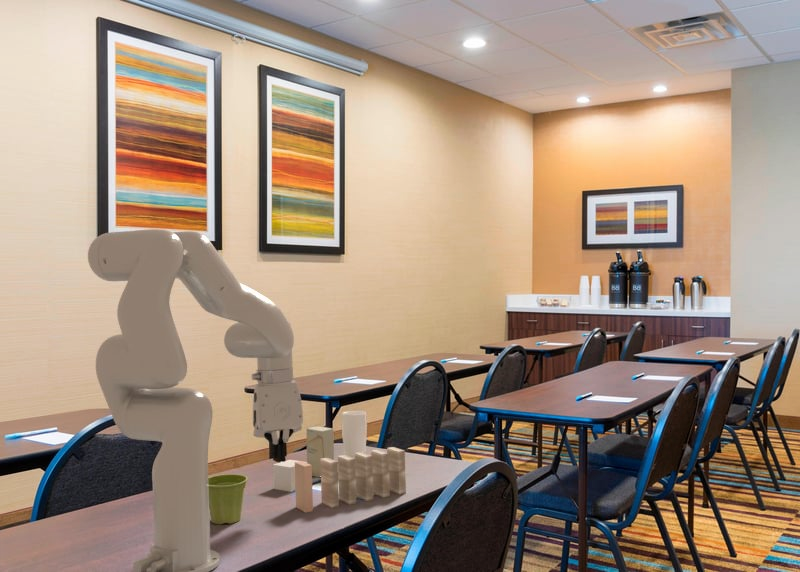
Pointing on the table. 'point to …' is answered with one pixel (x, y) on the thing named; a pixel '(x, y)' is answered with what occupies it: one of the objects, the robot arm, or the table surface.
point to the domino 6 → (397, 470)
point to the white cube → (284, 475)
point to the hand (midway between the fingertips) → (279, 460)
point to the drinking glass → (354, 432)
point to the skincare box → (319, 447)
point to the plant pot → (226, 497)
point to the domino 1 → (303, 486)
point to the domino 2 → (329, 482)
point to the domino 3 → (347, 479)
